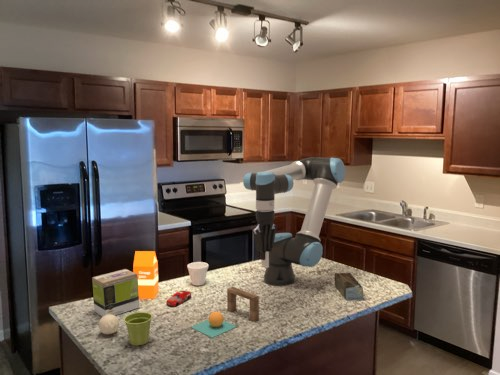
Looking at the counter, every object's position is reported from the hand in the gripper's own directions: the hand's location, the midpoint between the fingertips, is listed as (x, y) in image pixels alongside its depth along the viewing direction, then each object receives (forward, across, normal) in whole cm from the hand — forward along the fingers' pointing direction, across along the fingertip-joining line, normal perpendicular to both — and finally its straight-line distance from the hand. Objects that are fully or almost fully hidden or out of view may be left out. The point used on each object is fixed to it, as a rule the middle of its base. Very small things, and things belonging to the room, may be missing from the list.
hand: (265, 266), depth 173 cm
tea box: (+17, -45, +40) cm, 62 cm away
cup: (+17, -3, +40) cm, 43 cm away
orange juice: (+17, -28, +45) cm, 56 cm away
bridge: (+16, -13, 0) cm, 21 cm away
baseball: (+17, -57, +23) cm, 64 cm away
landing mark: (+16, -28, 0) cm, 32 cm away
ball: (+14, -27, 0) cm, 30 cm away
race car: (+17, -22, +29) cm, 40 cm away
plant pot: (+17, -53, +10) cm, 56 cm away
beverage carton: (+17, +37, -17) cm, 44 cm away
